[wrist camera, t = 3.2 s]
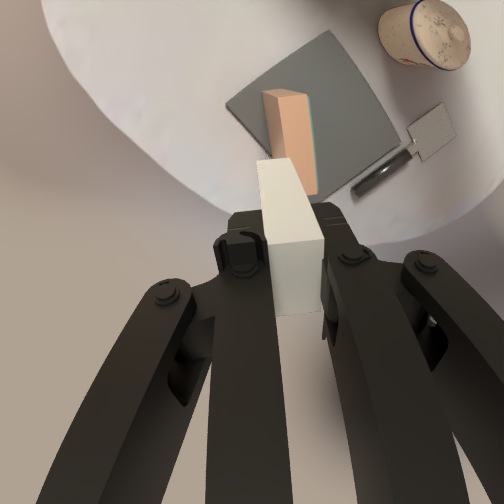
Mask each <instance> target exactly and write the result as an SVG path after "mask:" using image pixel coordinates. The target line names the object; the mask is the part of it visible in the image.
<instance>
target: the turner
mask: <svg viewBox="0 0 504 504" xmlns="http://www.w3.org/2000/svg"><path fill="white" fill-rule="evenodd" d="M407 130H408V132H409V134H410V136H411V138H412V140H413V142H412V143H411V144H409V145H408V146H407V147H405V148H404V149H403V150H401V151H400V152H399V153H397V154H396V155H395V156H393V157H392V158H391V159H389V160H388V161H387V162H385V163H384V164H383V165H381V166H380V167H378V168H377V169H376V170H374V171H373V172H372V173H370V174H369V175H368V176H366V177H365V178H364V179H362V180H361V181H359V182H358V183H357V184H355V185H354V186H353V187H351V188H352V190H353V191H354V192H355V194H356V195H357V196H358V198H360V197H361V196H362V195H364V194H365V193H366V192H368V191H369V190H371V189H372V188H373V187H375V186H376V185H377V184H379V183H380V182H381V181H383V180H384V179H385V178H387V177H388V176H389V175H391V174H392V173H394V172H395V171H396V170H398V169H399V168H400V167H402V166H403V165H404V164H406V163H407V162H408V161H410V160H411V159H412V155H413V154H414V153H416V152H417V151H418V153H419V155H420V157H421V160H422V161H424V160H425V159H427V158H428V157H429V156H431V155H432V154H433V153H434V152H436V151H437V150H438V149H440V148H441V147H442V146H443V145H445V144H446V143H447V142H449V141H450V140H451V139H452V138H454V137H455V136H456V133H455V130H454V128H453V125H452V123H451V120H450V118H449V115H448V113H447V110H446V108H445V106H444V104H443V102H441V103H440V104H439V105H437V106H436V107H435V108H433V109H432V110H430V111H429V112H428V113H426V114H425V115H423V116H422V117H421V118H419V119H418V120H416V121H415V122H414V123H412V124H411V125H410V126H408V127H407Z"/></svg>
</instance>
